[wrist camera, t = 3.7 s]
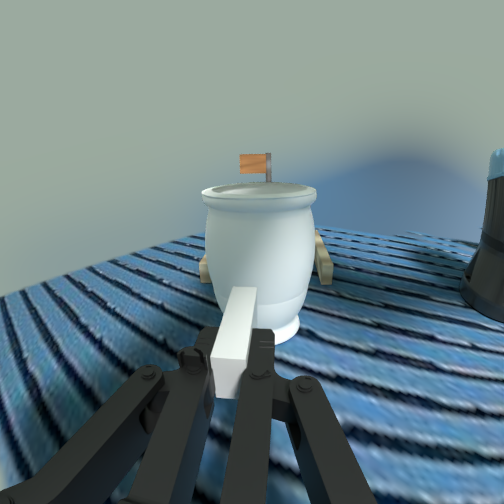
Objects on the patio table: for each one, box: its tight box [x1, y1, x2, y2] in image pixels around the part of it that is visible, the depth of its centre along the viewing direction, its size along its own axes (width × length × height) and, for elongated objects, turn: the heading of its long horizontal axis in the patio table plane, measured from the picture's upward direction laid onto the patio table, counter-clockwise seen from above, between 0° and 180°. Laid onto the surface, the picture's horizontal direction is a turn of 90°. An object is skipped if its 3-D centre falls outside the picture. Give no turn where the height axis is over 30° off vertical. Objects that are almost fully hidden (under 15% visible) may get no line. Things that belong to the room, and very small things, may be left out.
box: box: [199, 153, 334, 285], centre depth 45 cm, size 18×19×18 cm
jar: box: [202, 182, 317, 345], centre depth 28 cm, size 11×10×15 cm
